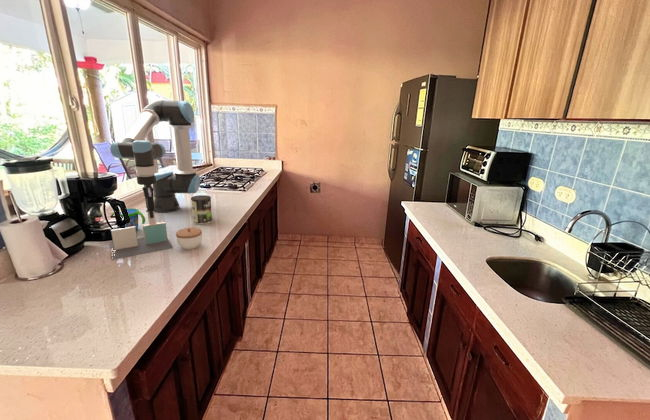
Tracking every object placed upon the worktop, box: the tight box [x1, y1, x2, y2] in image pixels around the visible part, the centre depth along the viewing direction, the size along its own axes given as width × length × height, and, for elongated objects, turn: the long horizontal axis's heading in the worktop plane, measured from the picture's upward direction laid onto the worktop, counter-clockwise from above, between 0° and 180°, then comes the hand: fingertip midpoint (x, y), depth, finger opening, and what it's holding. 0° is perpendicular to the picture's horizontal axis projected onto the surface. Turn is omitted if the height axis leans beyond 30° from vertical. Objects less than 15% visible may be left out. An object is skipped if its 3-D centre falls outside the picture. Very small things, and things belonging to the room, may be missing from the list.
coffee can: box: [190, 194, 213, 225], centre depth 170 cm, size 10×10×14 cm
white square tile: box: [110, 226, 138, 250], centre depth 133 cm, size 2×9×9 cm, turn 126°
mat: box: [108, 236, 174, 261], centre depth 137 cm, size 20×23×1 cm
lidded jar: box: [175, 227, 203, 250], centre depth 137 cm, size 11×11×9 cm
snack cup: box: [110, 207, 146, 231], centre depth 154 cm, size 16×10×10 cm
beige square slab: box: [142, 221, 169, 245], centre depth 140 cm, size 2×9×9 cm, turn 126°
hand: (152, 223), depth 146 cm, fingers closed
